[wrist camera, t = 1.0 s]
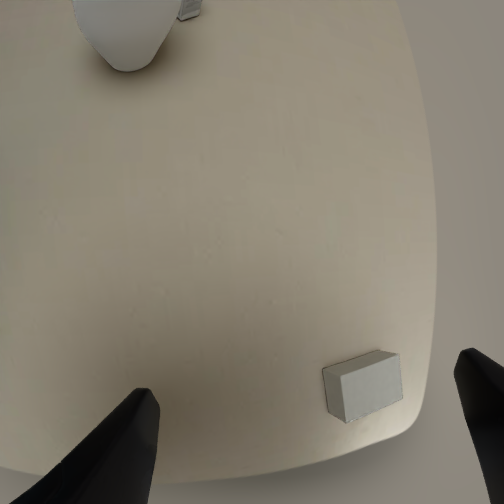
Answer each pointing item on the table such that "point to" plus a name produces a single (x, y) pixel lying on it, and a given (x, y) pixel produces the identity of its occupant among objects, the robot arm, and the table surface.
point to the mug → (126, 28)
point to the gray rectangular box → (363, 385)
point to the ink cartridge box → (189, 9)
